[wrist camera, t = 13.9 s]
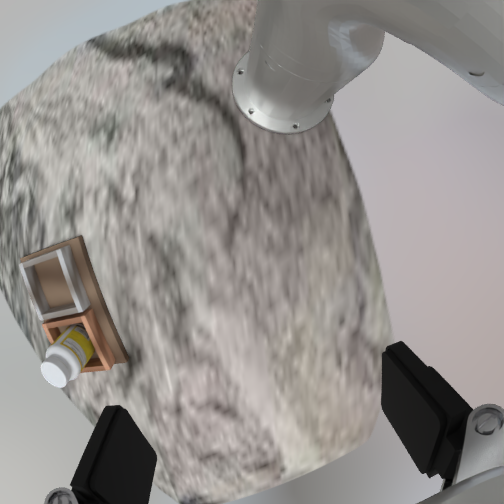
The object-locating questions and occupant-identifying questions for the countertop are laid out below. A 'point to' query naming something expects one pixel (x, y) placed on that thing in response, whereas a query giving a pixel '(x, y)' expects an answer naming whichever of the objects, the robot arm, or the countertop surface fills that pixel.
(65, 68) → the countertop surface
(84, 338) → the supplement bottle
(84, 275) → the board
